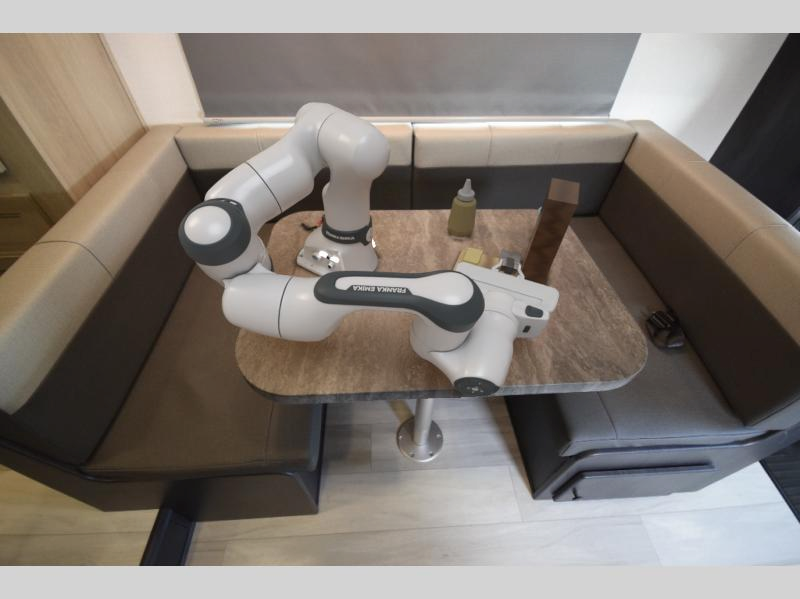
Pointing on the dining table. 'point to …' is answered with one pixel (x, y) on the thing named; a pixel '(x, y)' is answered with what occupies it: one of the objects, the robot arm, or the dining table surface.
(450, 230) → the squeeze bottle
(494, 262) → the board
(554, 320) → the dining table surface
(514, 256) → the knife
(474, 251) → the butter
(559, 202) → the stand
